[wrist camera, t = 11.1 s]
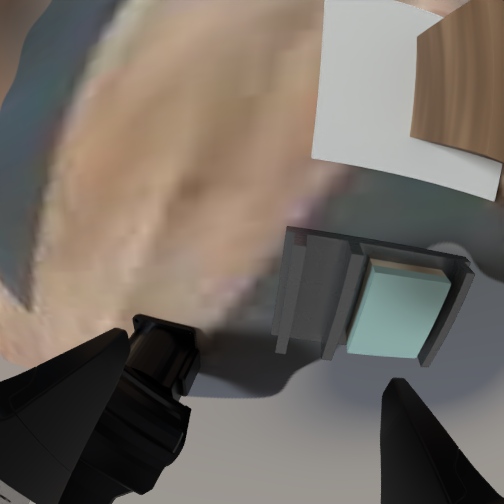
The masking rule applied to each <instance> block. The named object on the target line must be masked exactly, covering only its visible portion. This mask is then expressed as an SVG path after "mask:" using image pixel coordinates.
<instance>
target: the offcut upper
mask: <svg viewBox="0 0 504 504" xmlns="http://www.w3.org/2000/svg"><path fill="white" fill-rule="evenodd" d="M450 286H451V282H450V281H449V280H448V278H447V277H445V276H439V275H432V274H426V273H420V272H413V271H407V270H401V269H394V268H388V267H382V266H375V265H372V268H371V271H370V275H369V278H368V282H367V285H366V288H365V291H364V295H363V298H362V301H361V304H360V307H359V310H358V313H357V316H356V319H355V322H354V325H353V328H352V330H351V333H350V336H349V339H348V341H347V353H354V354H364V355H376V356H388V357H402V358H416V357H417V355H418V353H419V352H420V350H421V348H422V346H423V344H424V342H425V340H426V338H427V337H428V335H429V333H430V331H431V329H432V327H433V324H434V322H435V320H436V318H437V316H438V314H439V312H440V310H441V307H442V305H443V303H444V301H445V298H446V296H447V294H448V291H449V289H450Z"/></svg>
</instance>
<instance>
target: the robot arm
mask: <svg viewBox="0 0 504 504" xmlns="http://www.w3.org/2000/svg"><path fill="white" fill-rule="evenodd" d="M133 324H134V329H135V331H134V333H133V334H132V335H131V337H130V338H128V334H127V332H126V330H123V329H120V328H113V329H111V330H109V331H107V332H105V333H103V334H101V335H99V336H97V337H95V338H93V339H91V340H89V341H87V342H85V343H83V344H81V345H79V346H77V347H75V348H73V349H71V350H69V351H67V352H65V353H62V354H60V355H58V356H56V357H54V358H52V359H50V360H48V361H46V362H44V363H42V364H40V365H38V366H37V367H34V368H32V369H30V370H28V371H26V372H23V373H21V374H19V375H16V376H14V377H11V378H9V379H6V380H4V381H1V382H0V504H28V503H29V502H30V500H31V501H32V502H34V503H36V504H112V503H113V501H114V500H115V499H116V498H117V497H120V496H123V495H125V494H128V493H131V492H133V491H134V492H136V493H138V494H139V495H143V494H145V493H146V492H148V491H150V490H152V489H153V487H154V485H155V483H156V481H157V480H158V478H159V476H160V474H161V472H162V471H163V469H164V468H165V467H166V466H169V465H170V464H172V463H173V461H174V460H175V459H176V458H177V457H178V455H179V454H180V452H181V450H182V448H183V446H184V443H185V440H186V434H187V428H188V423H189V418H190V413H191V408H189V407H188V406H184V405H183V404H181V403H180V402H179V399H180V397H181V396H187V395H188V393H189V391H190V389H191V386H192V384H193V382H194V380H195V377H196V375H197V373H198V370H199V368H200V356H199V350H198V348H197V346H196V332H195V330H194V329H192V328H189V327H185V326H181V325H177V324H172V323H168V322H164V321H160V320H156V319H152V318H149V317H145V316H141V315H135V316H134V317H133ZM190 333H191V334H190ZM458 448H459V447H458V446H457V445H456V443H455V442H454V441H453V439H452V438H451V437H450V435H449V434H448V433H447V431H446V430H445V429H444V427H443V426H442V425H441V424H440V422H439V421H438V420H437V419H436V417H435V416H434V415H433V414H432V412H431V411H430V410H429V408H428V407H427V406H426V405H425V403H424V402H423V401H422V400H421V398H420V397H419V396H418V395H417V393H416V392H415V391H414V389H413V388H412V387H411V386H410V385H409V383H408V382H407V381H406V380H405V379H404V378H392V379H391V381H390V382H389V384H388V386H387V387H386V389H385V391H384V392H383V396H382V409H381V430H380V449H381V450H380V451H381V504H504V498H503V497H502V496H500V495H499V494H498V493H497V492H496V491H495V490H494V489H493V488H492V487H491V486H490V484H489V483H488V482H487V481H486V480H485V479H484V478H483V477H482V476H481V475H480V473H479V472H478V471H477V470H476V469H475V468H474V466H473V465H472V464H471V463H470V461H469V460H468V459H467V458H466V456H465V455H464V454H463V452H462V451H461V450H460V449H458Z"/></svg>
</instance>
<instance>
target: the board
mask: <svg viewBox="0 0 504 504" xmlns="http://www.w3.org/2000/svg"><path fill="white" fill-rule="evenodd" d="M443 18H444V17H441V16H439V15H436V14H434V13H431V12H428V11H426V10H423V9H420V8H417V7H414V6H411V5H408V4H405V3H401V2H398V1H394V0H325V1H324V21H323V37H322V52H321V65H320V77H319V88H318V99H317V109H316V119H315V128H314V137H313V146H312V154H311V158H313V159H319V160H326V161H332V162H338V163H344V164H349V165H355V166H360V167H365V168H370V169H375V170H380V171H385V172H389V173H394V174H398V175H402V176H407V177H411V178H415V179H419V180H423V181H427V182H431V183H434V184H438V185H442V186H445V187H449V188H452V189H456V190H459V191H463V192H466V193H469V194H472V195H476V196H479V197H482V198H485V199H488V200H491V201H495V197H496V193H497V188H498V184H499V179H500V174H501V169H502V163H499V162H496V161H493V160H490V159H487V158H484V157H480V156H477V155H474V154H471V153H467V152H464V151H460V150H456V149H453V148H449V147H445V146H441V145H437V144H434V143H430V142H427V141H423V140H420V139H416V138H413V137H410V129H411V121H412V112H413V103H414V91H415V77H416V54H417V36H418V35H420V34H421V33H423V32H424V31H426V30H427V29H428V28H430V27H431V26H433V25H434V24H436V23H437V22H438V21H440V20H441V19H443Z"/></svg>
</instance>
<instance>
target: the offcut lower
mask: <svg viewBox="0 0 504 504" xmlns="http://www.w3.org/2000/svg"><path fill="white" fill-rule="evenodd" d="M372 265H375V266H382V267H388V268H394V269H401V270H407V271H413V272H420V273H426V274H432V275H439V276H445V277H446V275H445V274H444V273H443V271H442V270H438V269H432V268H426V267H420V266H414V265H408V264H402V263H396V262H389V261H383V260H377V259H371V258H370V259H369V263H368V267H367V270H366V274H365V277H364V281H363V284H362V287H361V291H360V294H359V297H358V300H357V304H356V307H355V310H354V313H353V316H352V319H351V322H350V325H349V328H348V331H347V333H346V344H347V341H348V339H349V336H350V333H351V330H352V328H353V325H354V322H355V319H356V316H357V313H358V310H359V307H360V304H361V301H362V298H363V295H364V291H365V288H366V285H367V282H368V278H369V275H370V271H371V268H372Z"/></svg>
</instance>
